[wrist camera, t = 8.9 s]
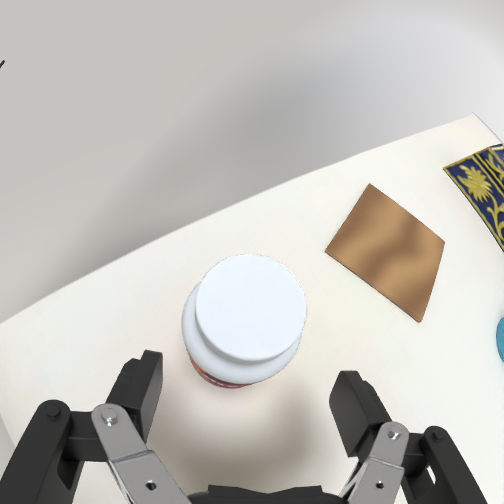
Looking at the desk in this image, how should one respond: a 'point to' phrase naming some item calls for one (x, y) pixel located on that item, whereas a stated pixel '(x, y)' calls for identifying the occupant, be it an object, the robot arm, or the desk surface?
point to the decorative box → (483, 186)
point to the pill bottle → (244, 320)
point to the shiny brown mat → (389, 251)
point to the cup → (500, 338)
